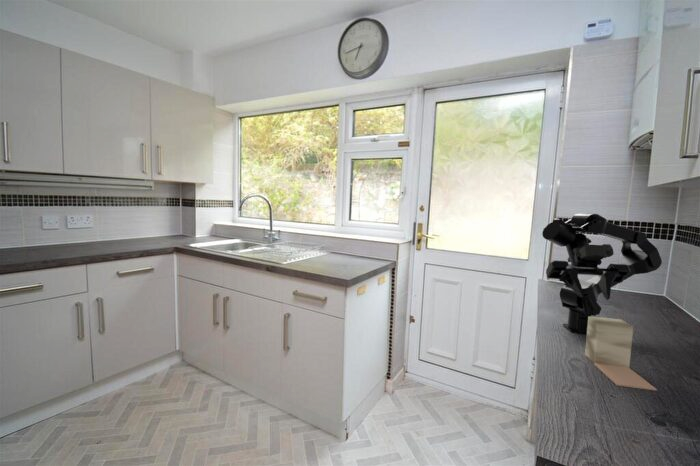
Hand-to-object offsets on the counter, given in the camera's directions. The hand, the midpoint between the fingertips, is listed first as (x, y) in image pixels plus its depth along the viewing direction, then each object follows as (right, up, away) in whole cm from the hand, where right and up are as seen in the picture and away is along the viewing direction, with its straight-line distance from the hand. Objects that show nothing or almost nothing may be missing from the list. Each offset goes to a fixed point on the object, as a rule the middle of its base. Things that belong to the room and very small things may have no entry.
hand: (595, 298), depth 84 cm
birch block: (-2, -14, -6) cm, 16 cm away
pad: (-4, -15, -14) cm, 20 cm away
